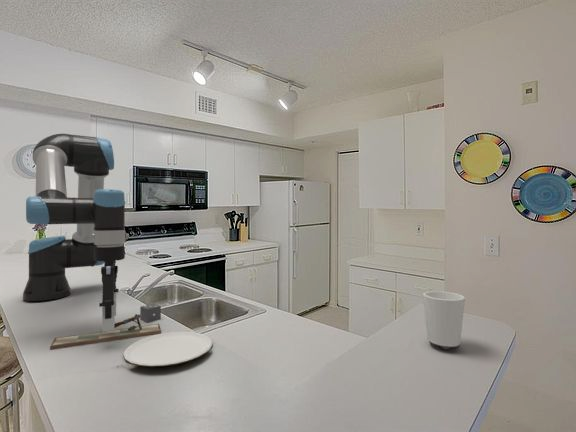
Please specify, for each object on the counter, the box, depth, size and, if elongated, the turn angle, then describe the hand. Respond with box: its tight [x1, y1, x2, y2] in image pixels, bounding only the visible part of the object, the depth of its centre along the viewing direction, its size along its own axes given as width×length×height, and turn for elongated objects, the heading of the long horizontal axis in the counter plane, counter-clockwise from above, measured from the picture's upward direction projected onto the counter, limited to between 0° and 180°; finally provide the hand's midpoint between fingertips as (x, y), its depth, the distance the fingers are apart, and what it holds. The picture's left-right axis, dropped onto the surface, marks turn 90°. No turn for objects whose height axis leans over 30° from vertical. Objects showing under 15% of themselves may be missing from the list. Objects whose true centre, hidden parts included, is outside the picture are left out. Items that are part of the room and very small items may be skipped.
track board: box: [49, 323, 162, 351], centre depth 91 cm, size 6×26×1 cm, turn 116°
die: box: [139, 303, 162, 324], centre depth 106 cm, size 5×4×5 cm
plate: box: [123, 331, 213, 368], centre depth 83 cm, size 21×21×1 cm
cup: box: [422, 290, 466, 350], centre depth 85 cm, size 10×10×13 cm
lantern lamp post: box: [112, 313, 142, 331], centre depth 93 cm, size 4×2×8 cm
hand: (109, 322), depth 91 cm, fingers open, 13 cm apart
